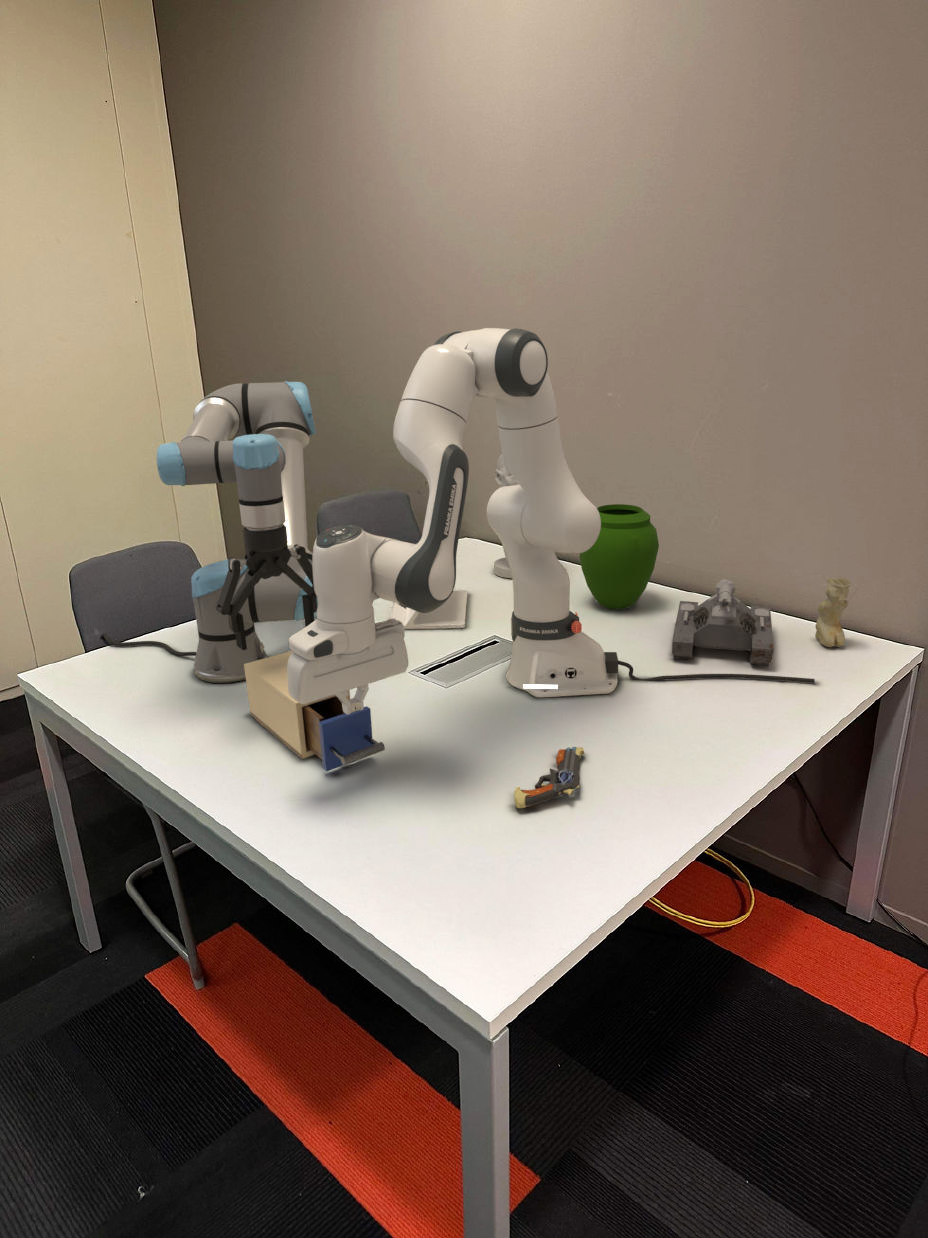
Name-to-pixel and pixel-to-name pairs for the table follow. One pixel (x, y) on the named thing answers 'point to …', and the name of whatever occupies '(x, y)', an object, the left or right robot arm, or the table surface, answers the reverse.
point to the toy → (724, 626)
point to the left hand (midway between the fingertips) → (277, 638)
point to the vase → (620, 556)
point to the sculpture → (832, 613)
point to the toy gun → (554, 780)
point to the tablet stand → (434, 614)
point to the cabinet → (277, 702)
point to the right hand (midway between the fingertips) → (353, 711)
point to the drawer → (338, 733)
